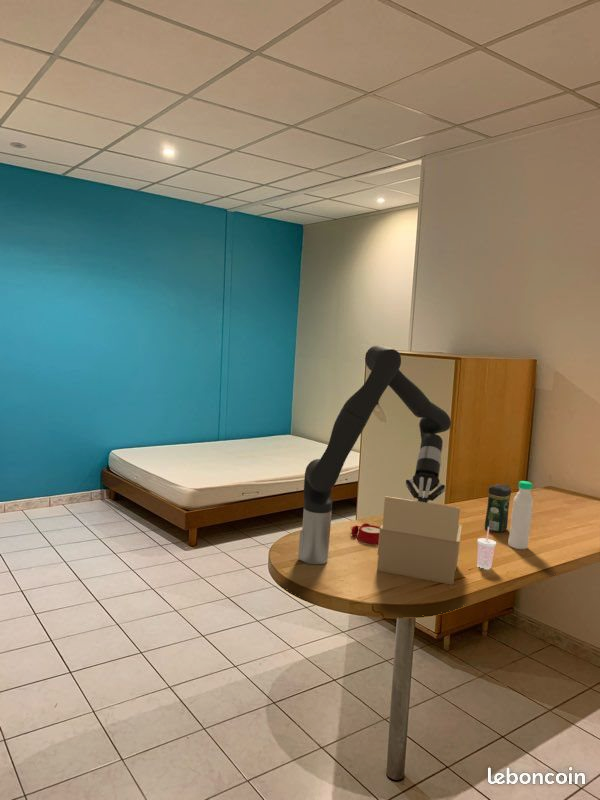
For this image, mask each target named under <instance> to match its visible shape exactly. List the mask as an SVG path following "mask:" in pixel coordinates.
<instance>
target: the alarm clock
mask: <svg viewBox="0 0 600 800" xmlns="http://www.w3.org/2000/svg"><path fill="white" fill-rule="evenodd" d="M380 527H381V526H377V525H374V524H373V525H371V524H369V523H366V522H365V523H363V524H361V526H360V525H354V526H351V527H350V529H351V536H352V537H355V536H356V540H358V541H360V542H362V543H366V544H371V545H372V544H374V545H378V543H379V532H380Z"/></svg>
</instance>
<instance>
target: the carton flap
mask: <svg viewBox="0 0 600 800" xmlns="http://www.w3.org/2000/svg"><path fill="white" fill-rule="evenodd" d="M383 504H384V505H383V514H382V515H383V517H382V524H383V527H382V529H385V530H390V531H396V532H402V533H408V534H414V535H420V536H426V537H431V538H437V539H443V540H449V541H455V542H456V541H457V531H458V524H459V522H460V521H459V520H460V511H461V507H457V506H452V505H446V504H445V505H444V504H437V503H432V502H427V503H426V502H420V501H418V500H412V499H405V498H400V497H392V496H386V495H385V496H384V503H383Z"/></svg>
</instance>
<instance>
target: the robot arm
mask: <svg viewBox="0 0 600 800" xmlns="http://www.w3.org/2000/svg"><path fill="white" fill-rule="evenodd" d="M364 361H365V364H366V366H367V368H368V369H369V370H370V373H369V375H368V377H367V379H366V380H365V382H364V383H363V385H362V386H361V387H360V388H359V389H358V390H357V391H356V392H355V393H353V394H352V395H351V396H350V397H349V398H348V399H347V400H346V401H345V403H344V404H343V406H342V408H341V409H340V412H339V413H338V415H337V417H336V419H335V421H334V424H333V427H332V430H331V432H330V438H329V441H328V444H327V447H326V449H325V451H324V452H323V454H322V455H321V456H320V458H317V459H313V460H311V461H309V463H308V464H307V465H306V468H305V470H304V471H305V472H304V481H303V514H302V528H301V531H299V542H298V555H297V560H298V561H302V562H303V563H304V564H305V563H306V564H309V565H323V564H326V563H327V562H328V559H329V547H330V538H331V526H332V525H331V524H332V511H333V498H332V488H333V487H334V486H335V485H336V483H337V481H338V479H339V476H340V473H341V471H342V469H343V466H344V465H345V463H346V460H347V458H348V455H349V454H350V453H351V451H352V449H353V448H354V446H355V445H356V442H357V441H358V439H359V437H360V435H361V434H362V432H363V431H364V428H365V426H366V425H367V424H368V421H369V419H370V417H371V415H372V413H373V412H374V410H375V408H376V407H377V404H378V403H379V402H380V399H381V398H382V396H383V394H384V392H385V390H386V389H387V388H388V387H390V388H391V389H392V390H393V392H394V393H395V394H396V395H397V396H398V398H399V399H400V400H401V401H402V402H403V403H404V404H405V406H406V407H407V408H408V410H410V412H411V413H412V414H413V415H414V416H415V417H417V418H421V419H420V420H419V423H418V427H419V432H420V439H421V443H420V447H419V448H420V449H419V452H418V455H417V462H416V466H415V467H416V468H415V473H414V475H413V476H412V478H411V479H406V480H405V487H406V488H407V490H408V491H409V493H410V494H411V496H412V497H413V498H414V499H417V501H420V502H426V503H429V501H434V500H436V499H437V498H438V497H439V496H441V495H442V494H443V493H444V492H445V491H446V485H445V484H442V483H440V479H439V476H440V471H441V464H442V450H443V443H444V442H443V439H442V437H441V436H440V435H439V434H441V433H444V432H446V431H447V432H448V431H449V430H450V428H451V427H452V426H451V425H452V421H451V420H452V419H451V418H450V416H449V414H448V413H447V412H446V410H444V409H442V408H441V407H439V406H438V405H437V404H436V403H433V402H431V401H430V399H429V398H428V397H427V395H426V394H425V393H424V392H423V391H422V390H421V389H420V388H419V387H418V386H417V385H416V384H415V383H414V382H413V381H411V379H410V378H408V377H407V376H406V375H405V374H404V373H403V372H402V371H401V370H400V367H401V365H402V357H401V354H400V352H399V351H398V350H396V349H395V348H392V347H389V346H385V345H379V344H377V345H376V344H375V345H373V346H371V347H370V348H369V349H368V350H367V351H366V353H365V357H364ZM414 485H415V487H416V488H417V490H418V491H417V490H416V488H415V487H414ZM432 491H433V492H432Z"/></svg>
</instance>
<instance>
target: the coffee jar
mask: <svg viewBox="0 0 600 800" xmlns="http://www.w3.org/2000/svg"><path fill="white" fill-rule="evenodd" d="M487 493H488V494H487V507H486V514H485V519H484V520H485V521H484V529H486V530H488V527H489V532H494V533H495V532H497V533H502V532H504V531H506V530H507V529H508V521H509V510H510V509H509V508H510V500H511V495H512V494H511V493H512V489H511V487H510V486H509V485H507V484H504V483H498V484H495V485H491V486H489V487H488V492H487Z"/></svg>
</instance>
